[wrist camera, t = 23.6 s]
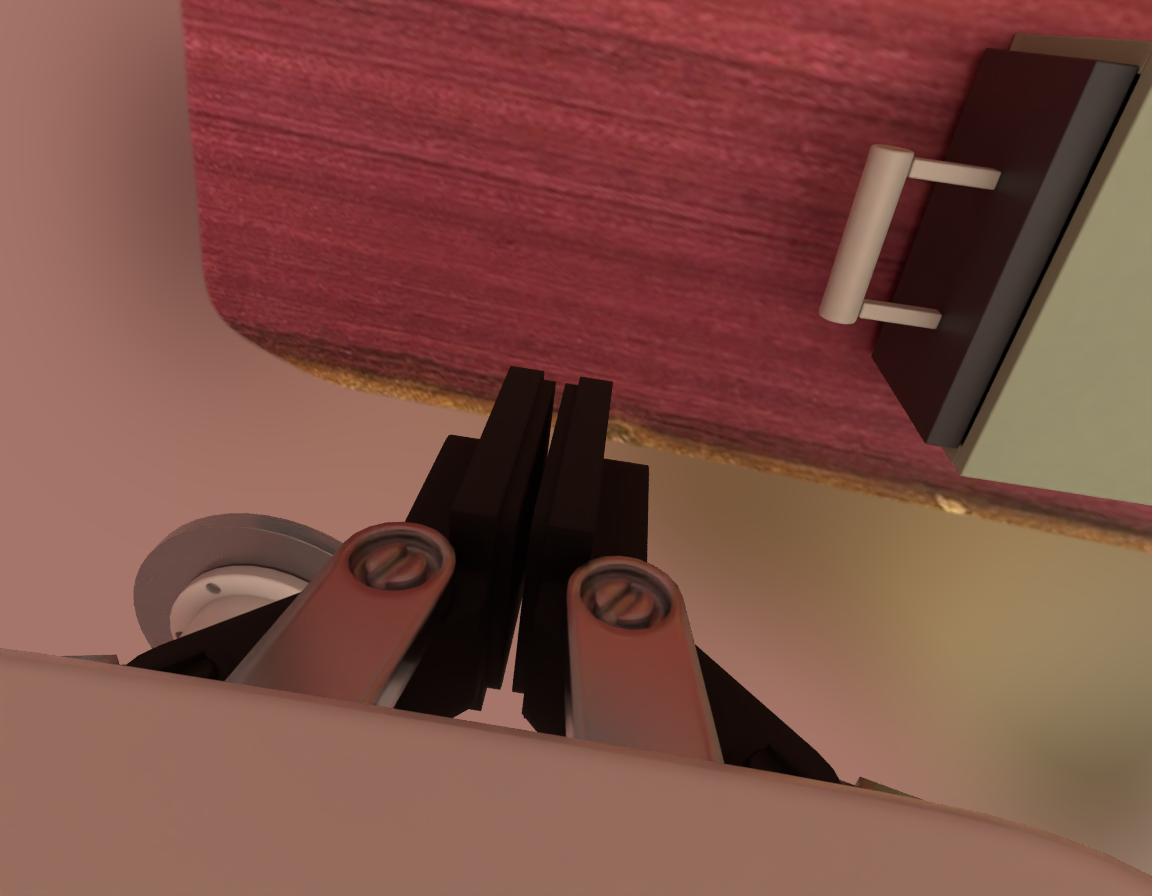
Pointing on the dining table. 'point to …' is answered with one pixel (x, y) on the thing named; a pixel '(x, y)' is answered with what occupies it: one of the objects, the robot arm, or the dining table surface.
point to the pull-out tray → (975, 228)
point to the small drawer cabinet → (1083, 325)
